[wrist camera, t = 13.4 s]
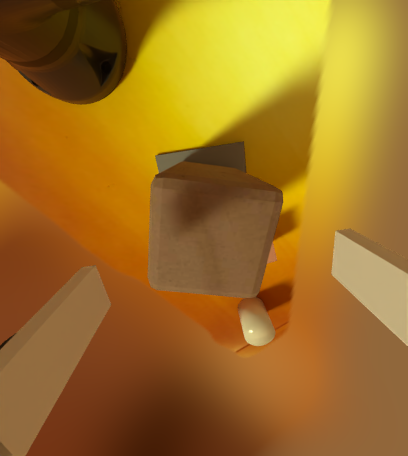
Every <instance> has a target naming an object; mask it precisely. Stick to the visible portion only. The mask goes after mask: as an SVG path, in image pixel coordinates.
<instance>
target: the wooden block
mask: <svg viewBox="0 0 408 456" xmlns="http://www.w3.org/2000/svg"><path fill="white" fill-rule="evenodd" d="M282 204H283V194H282V191H281V190H279V189H278V188H276V187H274V186H272V185H270V184H268V183H266V182H264V181H262V180H260V179H257V178H255V177H253V176H251V175H249V174H247V173H245V172H242V171H240V170H238V169H236V168H231V167H224V166H216V165H208V164H201V163H193V162H185V161H183V162H180V163H178V164H176V165H174V166H172V167H170V168H168V169H166V170H164V171H162V172H161V173H159V174H157V175H155V177H154V179H153V181H152V184H151V199H150V228H149V257H148V279H149V283H150V286H151V287H152V288H154V289H156V290H163V291H174V292H185V293H196V294H207V295H218V296H229V297H240V298H253V297H256V296H257V294H258V293H259V291H260V287H261V283H262V279H263V276H264V272H265V268H266V264H267V261H268V257H269V253H270V249H271V246H272V242H273V238H274V234H275V230H276V227H277V223H278V219H279V215H280V212H281V208H282Z"/></svg>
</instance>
